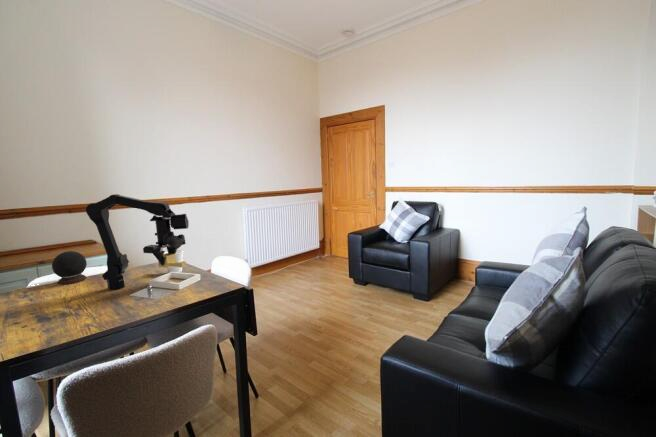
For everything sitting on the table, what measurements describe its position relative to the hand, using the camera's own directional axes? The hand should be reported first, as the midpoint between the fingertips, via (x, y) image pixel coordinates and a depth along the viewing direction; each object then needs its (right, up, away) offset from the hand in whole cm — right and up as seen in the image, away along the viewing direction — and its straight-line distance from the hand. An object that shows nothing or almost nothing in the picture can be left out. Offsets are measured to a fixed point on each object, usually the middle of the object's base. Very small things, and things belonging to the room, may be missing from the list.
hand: (167, 263), depth 144 cm
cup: (-5, -8, +19) cm, 21 cm away
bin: (+4, -10, 0) cm, 10 cm away
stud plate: (0, -12, -11) cm, 16 cm away
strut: (+3, -1, -1) cm, 4 cm away
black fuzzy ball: (-53, -11, +12) cm, 55 cm away
